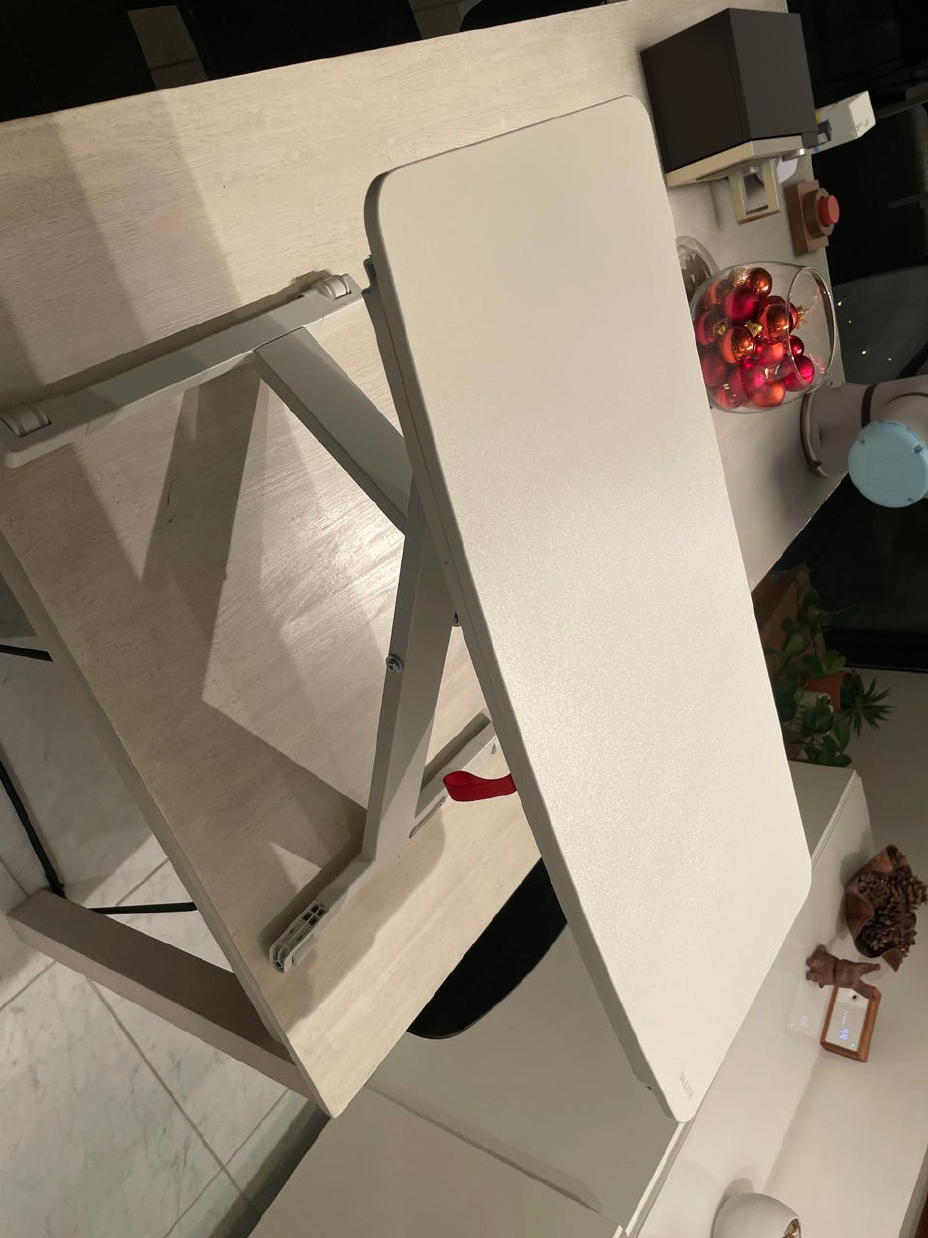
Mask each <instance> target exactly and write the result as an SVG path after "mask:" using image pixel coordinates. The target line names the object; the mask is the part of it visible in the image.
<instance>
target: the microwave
mask: <svg viewBox="0 0 928 1238" xmlns="http://www.w3.org/2000/svg"><path fill="white" fill-rule="evenodd" d="M639 57H640V62H641V67H642V70H643V76H644V81H645V86H646V90H647V95H648V101H649V106H650V110H651V116H652V120H653V125H654V129H655V135H656V140H657V144H658V150H659V154H660V158H661V159H660V160H661V165H662V168H663V173H670V172H672V171H675V170H677V169H680V168H683V167H685V166H688V165H690V164H693V163H696V162H698V161H701V160H703V159H706V158H709V157H711V156H714V155H716V154H719V153H722V152H724V151H727V150H729V149H732V148H735V147H737V146H740V145H742V144H745V143H748V142H750V141H757V140H766V139H774V138H783V137H791V136H800V135H801V139H802V145H803V149H800V150H797V151H795V152H792V153H789V154H786V155H784V156H781V157H778V158H776V159H775V160H777V159H780V158H781V159H782V162H786V161H790V160H793V159H796V158H799V157H802V156H804V155H806V154H807V148H810V147H813V146H815V145H818V144H819V142H818V135H817V132H816V131H818V125H817V119H816V113H815V110H816V108H815V101H814V96H813V89H812V82H811V76H810V70H809V69H810V68H809V63H808V57H807V51H806V45H805V37H804V33H803V26H802V21H801V14H800V13H793V12H781V11H770V10H761V9H760V10H759V9H749V8H740V7H726V8H725V9H722V10H721V11H719V12H717V13H714V14H712V15H711V16H709V17H707V18H704V19H702V20H700V21H698V22H696V23H695V24H693V25H690V26H689V27H686V28H684V29H682V30H680V31H678V32H677V33H675V34H672V35H670V36H668V37H666V38H664V39H662V40H661V41H658V42H657V43H654V44H652V45H650V46H648V47H646V48H643V50H640V51H639ZM760 165H761V164H759V165H756V166H754V167H751V168H748V169H745V170H743V171H742V174H743V178H746V177H748V176H752V175H756V173H757V172H759V171H760V170H759V166H760Z"/></svg>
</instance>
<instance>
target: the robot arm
mask: <svg viewBox="0 0 928 1238" xmlns="http://www.w3.org/2000/svg"><path fill="white" fill-rule="evenodd" d="M904 95H905V96H904V97H905V100H903V101H901V102H898V103H894V104H893V105H889V106H887V107H884V108H882V109H879V110H876V111H874V117H875V120H877V119H878V120H879V119H885V118H887V117H890V116H892V115H896V114H898V113H902V112H904V111H907V110H910V109H912V108H915V107H917V106H920V105H923V104H926V103H928V81H925V82H923V83H920V84H917V85H915V86H912V87H910V88H907V90H906V91H904ZM915 202H919V206H920V209H921V210H922V209H923V210H926V209H928V190H927V191H923V192H919V193H917V194H913V195H910V196H907V197H903V198H900V199H897V200H896V199H895V200H893V201H889V202H887V206H888V210H891V209H895V208H898V207H902V206H905V205H909V204H912V203H915ZM845 379H846V377H842V378H837V379H835V380H824V381H825V382H824V383H823V384H822V385H821V386H820V387H819V388H817V389H816V390H814V391H812V392H810V393H808V394H806V393H805V396H804V398H803V403H802V407H801V417H800V419H801V423H800V424H801V436H802V438H801V439H802V443H803V448H804V449H803V450H804V452H805V455H806V458H807V461H808V464H809V465H810V467H809V468H807V471H809V473H813V472H814V473H815V474H816V475H817V476H818V477H821V478H825V479H826V478H834V477H837V476H841V475H843V474H845V473H847V472H848V473H849V477H850V479H851V481H852V483H853V485H854V486H855V487H856V488H857V489H858V491H859V492H860V493H861V495H862V496H863V497H865V498H866V499H867V500H869V501H871V502H873V503H874V504H875V505H879V506H883V507H887V508H903V507H908V506H910V505H912V504H914V503H917V502H918V501H920V500H921V499H928V373H927V374H921V375H917V376H911V377H905V378H900V379H895V380H889V381H883V382H878V383H872V384H860V383H852V382H846V381H845Z"/></svg>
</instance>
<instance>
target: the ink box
mask: <svg viewBox="0 0 928 1238" xmlns="http://www.w3.org/2000/svg"><path fill="white" fill-rule="evenodd" d="M815 113H816V119H817V125H818V131H816V132H817V135H818V142H819V144H818V145H815V146H813V147H810V148H807V154H806V155H804V156H802V157H799V158H798V159H797V160H801V159H803V158H806V157H808V156H811V155H815V154H817V153H820V152H823V151H826V150H828V149H831V148H834V147H837V146H840V145H842V144H845V143H849V142H851V141H854V140H856V139H859V138H861V137H862V136H863V135H864V134H865V133H866V132H868V131H869V130H871V128H873V127H874V126H875V125H876V117H875V113H874V110H873V107H872V103H871V99H870V94H869V91H868V90H866V91H863V92H860V93H858V94H855V95H851V96H849V97H847V98H844V99H842V100H839V101H836V102H834V103H831V104H828V105H825V106H824V107H820V108H817V109H815Z"/></svg>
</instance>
